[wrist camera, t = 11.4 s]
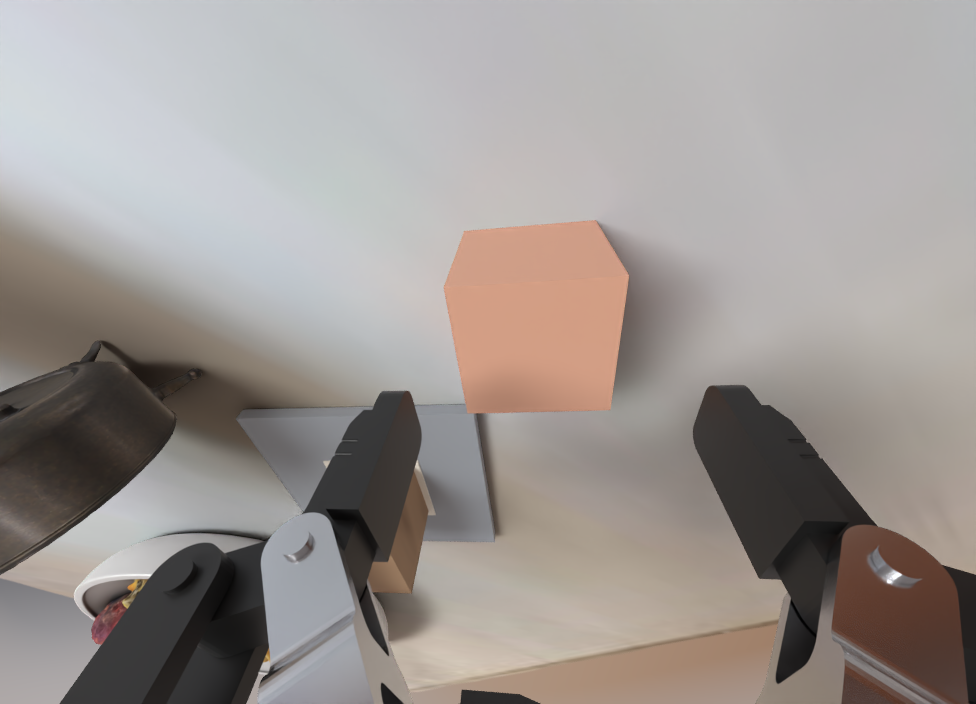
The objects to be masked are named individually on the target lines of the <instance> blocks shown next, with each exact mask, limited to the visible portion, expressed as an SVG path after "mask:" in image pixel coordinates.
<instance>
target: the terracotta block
mask: <svg viewBox="0 0 976 704" xmlns="http://www.w3.org/2000/svg"><path fill="white" fill-rule="evenodd" d="M628 280H629V274H628V273H627V271H626V270H625V268H624V266H623V265H622V263H621V261H620V260H619V258H618V256H617V255H616V253H615V251H614V250H613V248H612V246H611V245H610V243H609V241H608V240H607V238H606V236H605V235H604V233H603V231H602V230H601V228H600V226H599V225H598V223H597V222H596V220H594V221H581V222H569V223H557V224H545V225H532V226H520V227H508V228H496V229H484V230H471V231H464V233H463V236H462V239H461V242H460V244H459V247H458V250H457V253H456V255H455V258H454V261H453V263H452V266H451V269H450V272H449V274H448V277H447V280H446V283H445V285H444V292H445V297H446V302H447V307H448V313H449V318H450V323H451V329H452V334H453V339H454V344H455V350H456V355H457V360H458V366H459V371H460V376H461V381H462V387H463V392H464V397H465V403H466V408H467V413H468V414H469V413H510V412H551V411H592V410H610V408H611V401H612V394H613V387H614V380H615V373H616V366H617V358H618V351H619V344H620V337H621V330H622V323H623V316H624V309H625V302H626V295H627V288H628Z"/></svg>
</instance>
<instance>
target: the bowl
mask: <svg viewBox="0 0 976 704" xmlns="http://www.w3.org/2000/svg"><path fill="white" fill-rule="evenodd" d="M204 542H205V543H212V544H214V545H216V546H217V547H218V548H219V549H220V550H222V551H223V552H224V553H227V552H230V551H234V550H237V549H240V548H244V547H247V546H250V545H254V544H257V543H260V542H264V541H263V540H258V539H253V538H247V537H241V536H234V535H225V534H210V533H187V534H175V535H167V536H161V537H157V538H152V539H149V540H145V541H142V542H139V543H136V544H134V545H131V546H129V547H127V548H125V549H123V550H121V551H119V552H117V553H116V554H114V555H112V556H111V557H109V558H108V559H106V560H105V561H103V562H102V563H101V564H100V565H98V566H97V567H96V568H95V569H94V570H93V571H92V572H91V573H90V574H89V575H88V576H87V577H86V578H85V579H84V580H83V581H82V583H81V584H80V585H79V586H78V587H77V589H76V590H75V593H74V599H75V602H76V604H77V606H78V607H79V608H80V609H81V611H82V612H83V613H85V614H86V615H87V616H88V617H89V618H91V619H92V620H94V623H93V626H92V629H91V631H92V639H93V640H94V641H95V643H96V644H101V645H102V644H103V642H104V641H105V639H106V638H107V637H108V635H109V634H110V632H111V631H112V630H113V628H114V627H115V625H116V624H117V623H118V621H119V620H120V618H121V617H122V616H123V614H124V613H125V611H126V610H127V609H128V607H129V606H130V604H131V603H132V602H133V600H134V599H135V597H136V596H137V594H138V593H139V592H140V590H141V589H142V587H143V586H144V585H145V583H146V582H147V580H148V579H149V578H150V577H151V575H152V574H153V573H154V572H155V571H156V569H157V568H158V567H159V566H160V565H161V564H163V563H164V562H165V561H166V560H167V559H168V558H170V557H171V556H172V555H174V554H175V553H177V552H179V551H180V550H182V549H184V548H186V547H188V546H191V545H194V544H197V543H204ZM373 595H374V594H373ZM374 598H375V601H376V604H377V607H378V610H379V613H380V616H381V619H382V622H383V625H384V628H385V631H386V634H387V637H388V624H387V619H386V615H385V613H384V610H383V608H382V606H381V604H380V602H379V601H378V599H377V598H376V597H375V595H374ZM269 669H270V651H269V649H268V651H267V654H266V656H265V659H264V661H263V664H262V666H261V668H260V671H259V673H258V674H265V675H267V674H268V672H269Z"/></svg>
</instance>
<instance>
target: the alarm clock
mask: <svg viewBox="0 0 976 704" xmlns="http://www.w3.org/2000/svg"><path fill="white" fill-rule="evenodd" d="M100 348H101V344H100V341H96V342H95V343H94V344H93V345H92V347H91V349H90V351H89V352H88V353H87V355H85V356H84V357H83V358H82V360H81V361H80V362H74V363H71V364H69V365H68V366H65V367H62V368H60V369H59V370H56V371H53V372H50V373H48V374H45V375H42V376H39V377H37V378H34V379H31V380H29V381H27V382H24V383H22V384H19V385H17V386H14V387H12V388H9V389H7V390H5V391H2V392H0V575H1V574H3V573H4V572H6V571H8V570H10V569H12V568H14V567H15V566H16V565H18V564H19V563H21V562H23V561H24V560H26V559H28V558H29V557H30V556H32V555H33V554H35V553H36V552H38V551H39V550H41V549H43V548H44V547H46V546H48V545H49V544H51V543H52V542H53V541H55V540H56V539H57V538H59V537H60V536H62V535H63V534H65V533H66V532H67V531H69V530H70V529H71V528H73V527H74V526H76V525H77V524H79V523H80V522H81V521H83V520H84V519H85V518H87V517H88V516H89V515H90V514H91V513H93V512H94V511H96V510H97V509H98V508H100V507H101V506H102V505H103V504H105V503H106V502H107V501H108V500H109V499H111V498H112V497H113V496H114V495H116V494H117V493H118V492H119V491H120V490H121V489H122V488H124V487H125V486H126V485H127V484H128V483H129V482H130V481H131V480H132V479H133V478H134V477H136V476H137V475H138V474H139V473H140V472H141V471H142V470H143V469H144V468H145V467H146V466H147V465H148V464H149V463H150V462H151V461H152V460H153V459H154V458H155V457H156V455H157V454H158V453H159V452H160V451H161V450H162V448H163V447H164V446H165V444H166V443H167V442H168V440H169V439H170V437H171V435H172V434H173V431H174V428H175V425H176V415H175V413H174V412H173V411H171V410H170V409H169V408H167V407H166V406H165V405H164V404H163V402H162V401H163V399H164V398H165V397H167V396H168V395H170V394H172V393H174V392H175V391H177V390H178V389H180V388H181V387H182V386H184V385H185V384H186V383H188V382H189V381H190V380H192V379H197V378H199V377H201V374H202V372H201V371H200V370H199V369H194V368H193V369H191V370H190V371H188V373H187V374H185V375H183V376H181V377H178V378H176V379H173V380H171V381H168V382H166V383H164V384H162V385H160V386H158V387H156V388H149V387H147V386H146V385H145V384H144V383H143V382H141V381H140V380H139V379H138V378H137V377H136V376H135V375H134V374H133V373H132V372H131V371H130V370H129V369H128V368H127V367H125V366H123V365H120V364H117V363H112V362H94V361H95V359H96V357H97V354H98V352H99V350H100Z"/></svg>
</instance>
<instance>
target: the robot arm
mask: <svg viewBox="0 0 976 704" xmlns="http://www.w3.org/2000/svg"><path fill="white" fill-rule="evenodd" d="M693 439H694V444H695V447H696V449H697V452H698V454H699V456H700V458H701V460H702V462H703V464H704V466H705V468H706V470H707V472H708V474H709V476H710V478H711V481H712V483H713V485H714V487H715V489H716V491H717V493H718V495H719V497H720V499H721V501H722V503H723V505H724V507H725V509H726V511H727V513H728V516H729V518H730V520H731V522H732V524H733V526H734V528H735V530H736V532H737V534H738V536H739V538H740V540H741V542H742V544H743V546H744V549H745V551H746V553H747V555H748V557H749V559H750V561H751V563H752V565H753V567H754V569H755V571H756V573H757V575H758V577H759V579H781V580H782V582H783V584H784V586H785V588H786V590H787V591H788V593H787V594H786V595H785V597H784V600H783V604H782V608H781V613H780V618H779V622H778V627H777V631H776V636H775V641H774V645H773V651H772V655H771V659H770V664H769V668H768V673H767V678H766V681H765V685H764V687H763V690H762V692H761V694H760V696H759V698H758V699H757V701H756V703H755V704H976V575H975V574H971V573H968V572H964V571H961V570H957V569H954V568H950V567H947V566H944V565H941V564H940V563H939V562H938V561H937V560H936V559H935V558H934V557H933V556H932V555H931V554H930V553H928V552H927V551H926V550H925V549H923V548H922V547H920V546H919V545H918V544H916V543H915V542H913V541H911V540H909V539H908V538H906V537H904V536H902V535H900V534H898V533H896V532H893V531H891V530H888V529H885V528H882V527H878V526H877V525H876V524H875V523H874V522H873V520H872V519H871V518H870V517H869V516H868V514H867V513H866V512H865V511H864V510H863V508H862V507H861V506H860V505H859V503H858V502H857V501H856V500H855V498H854V497H853V496H852V495H851V494H850V492H849V491H848V490H847V489H846V487H845V486H844V485H843V484H842V483H841V481H840V480H839V479H838V478H837V476H836V475H835V474H834V473H833V471H832V470H831V469H830V468H829V467H828V465H827V464H826V463H825V462H824V460H823V459H820V458H819V456H818V455H819V454H818V453H817V452H816V451H815V449H814V448H813V447H812V446H811V444H810V443H807V442H806V438H805V437H804V436H803V435H802V433H801V432H800V431H799V430H798V428H797V427H796V426H795V425H794V424H793V422H792V421H791V420H789V419H788V418H787V417H785V416H784V415H782V414H781V413H780V412H778V411H777V410H775V409H774V408H773V407H771V406H770V405H761V404H760V403H759V401H758V400H757V399H756V397H755V396H754V395H753V393H752V392H751V391H750V390H749V388H747V387H746V386H744V385H721V386H709V387H708V388H707V390H706V392H705V395H704V398H703V401H702V404H701V406H700V409H699V412H698V415H697V418H696V421H695V424H694V427H693ZM421 440H422V432H421V426H420V423H419V419H418V416H417V413H416V409H415V406H414V403H413V399H412V396H411V394H410V392H409V391H383V392H381V393H380V394H379V396H378V398H377V400H376V402H375V405H374V407H373V409H372V410H363V411H362V412H361V413H360V414H359V415H358V416H357V417H356V418H355V419H354V420H353V421H352V422H351V423H350V424H349V426H348V428H347V430H346V432H345V434H344V436H343V438H342V442H341V443H339V445H338V447H337V449H336V451H335V456H333V457H332V459H331V461H330V463H329V465H328V467H327V469H326V471H325V472H324V474H323V476H322V478H321V480H320V482H319V484H318V486H317V488H316V490H315V492H314V494H313V496H312V498H311V500H310V502H309V503H308V505H307V507H306V509H305V511H304V512H303V513H302V514H301V515H298V516H296V517H294V518H292V519H290V520H289V521H287V522H286V523H284V524H283V525H282V526H281V527H279V528H278V529H277V530H276V531H275V533H274V534H273V535H272V536H271V537H270V539H269V540H266V541H264V542H260V543H257V544H254V545H250V546H247V547H244V548H240V549H237V550H234V551H230V552H227V553H224V552H223V551H222V550H220V549H219V548H218V547H217V546H216V545H214V544H212V543H205V542H204V543H197V544H194V545H191V546H188V547H186V548H184V549H182V550H180V551H179V552H177V553H175V554H174V555H172V556H171V557H170V558H168V559H167V560H166V561H165V562H164V563H163V564H161V565H160V566H159V567H158V568H157V569H156V571H155V572H154V573H153V574H152V575H151V577H150V578H149V579H148V580H147V582H146V583H145V585H144V586H143V587H142V589H141V590H140V592H139V593H138V594H137V596H136V597H135V599H134V600H133V602H132V603H131V604H130V606H129V607H128V609H127V610H126V611H125V613H124V614H123V616H122V617H121V618H120V620H119V621H118V623H117V624H116V625H115V627H114V628H113V630H112V631H111V632H110V634H109V635H108V637H107V638H106V639H105V641H104V642H103V644H102V645H101V646H100V648H99V649H98V651H97V652H96V653H95V655H94V656H93V658H92V659H91V660H90V662H89V663H88V665H87V666H86V667H85V669H84V670H83V672H82V673H81V674H80V676H79V677H78V679H77V680H76V682H75V683H74V684H73V686H72V687H71V688H70V690H69V691H68V693H67V694H66V695H65V697H64V698H63V700H62V701H61V703H60V704H246V703H247V700H248V698H249V695H250V693H251V691H252V688H253V686H254V683H255V681H256V678H257V676H258V673H259V671H260V668H261V666H262V664H263V661H264V659H265V656H266V654H267V651H268V649H269V651H270V669H269V672H268V674H267V675H265V676H264V677H263V678H262V680H261V682H260V685H259V690H258V704H414V703H413V700H412V698H411V694H410V692H409V689H408V686H407V684H406V682H405V679H404V677H403V675H402V673H401V671H400V669H399V667H398V664H397V662H396V660H395V657H394V654H393V652H392V649H391V646H390V643H389V640H388V637H387V634H386V631H385V628H384V625H383V622H382V619H381V616H380V613H379V610H378V607H377V604H376V601H375V598H374V595H373V592H372V589H371V586H370V583H369V580H368V576H369V573H370V570H371V567H372V564H373V562H388V560H389V557H390V553H391V550H392V546H393V543H394V539H395V536H396V532H397V529H398V525H399V522H400V518H401V515H402V511H403V508H404V504H405V501H406V497H407V494H408V490H409V486H410V483H411V479H412V476H413V472H414V469H415V465H416V462H417V458H418V455H419V451H420V447H421ZM460 704H540V703H538V702H535V701H533V700H531V699H529V698H526V697H524V696H522V695H520V694H509V693H497V692H496V693H495V692H485V691H472V690H462V693H461V703H460Z"/></svg>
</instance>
